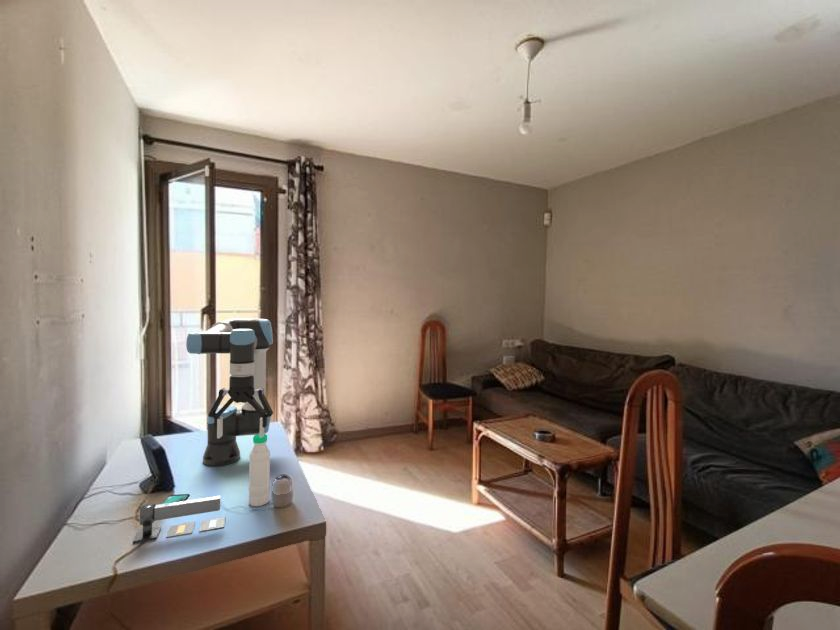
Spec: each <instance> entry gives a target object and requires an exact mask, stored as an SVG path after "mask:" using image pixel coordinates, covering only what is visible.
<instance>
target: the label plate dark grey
mask: <svg viewBox="0 0 840 630" xmlns="http://www.w3.org/2000/svg"><path fill="white" fill-rule="evenodd" d="M200 523H201V524H200V528H199V530H198V531H199V532H198V533H201V532H208V531H214V530H218V529H224V528H225V525H226V524H225V523H226V516H224V517H223V516H221V517H217V518H211V519H206V520H205V519H204V520H201V522H200Z"/></svg>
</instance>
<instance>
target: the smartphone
mask: <svg viewBox="0 0 840 630" xmlns="http://www.w3.org/2000/svg"><path fill="white" fill-rule="evenodd" d="M190 495H191V494H189V493H185V494H184V493H183V494H170V495H168V497H166V498H165V500H164V501H163V502H162V503H161V504H166V503H173V502H180V501H186V500H188V499H189V498H190Z"/></svg>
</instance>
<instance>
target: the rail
mask: <svg viewBox="0 0 840 630" xmlns="http://www.w3.org/2000/svg"><path fill="white" fill-rule="evenodd" d="M220 510H221V495H216V496H215V495H213V496H209V497H202V498H194V499H187V500H186V501H180V502H173V503H166V504H162V503H160V504H156V503H154V502H148V503H144V504H142V505H141V506H140V507H139V525H140V526H143V525H148V524H151V523H152V524H153V523H154V522H155V521H161V520H169V519H174V518H175V519H176V518H181V517H187V516H192V515H193V516H194V515H199V514H204V513H210V512H212V513H214V512H218V511H220Z"/></svg>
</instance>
